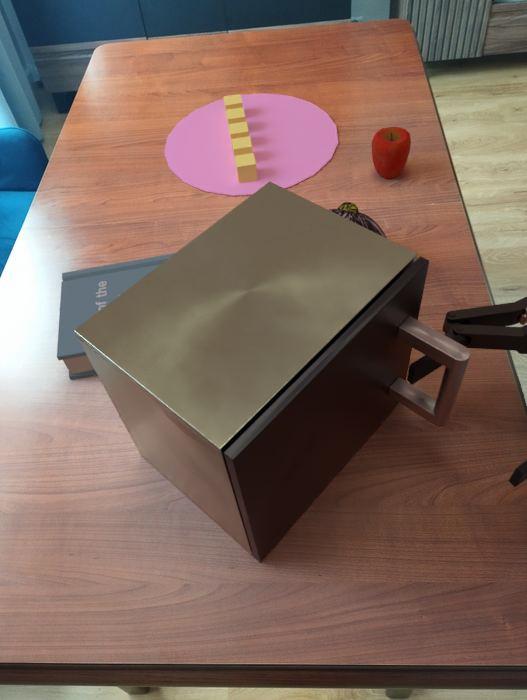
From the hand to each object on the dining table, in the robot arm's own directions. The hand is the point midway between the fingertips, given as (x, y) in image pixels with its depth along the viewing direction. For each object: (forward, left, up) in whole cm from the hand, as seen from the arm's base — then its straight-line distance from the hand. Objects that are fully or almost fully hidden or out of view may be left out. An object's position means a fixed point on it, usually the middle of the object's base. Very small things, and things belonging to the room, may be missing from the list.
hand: (459, 423), depth 55 cm
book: (+41, +16, -12) cm, 45 cm away
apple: (+46, -31, -12) cm, 57 cm away
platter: (+69, -18, -12) cm, 72 cm away
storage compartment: (+17, +12, -12) cm, 23 cm away
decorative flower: (+33, -11, -12) cm, 37 cm away
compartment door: (+4, +8, -12) cm, 15 cm away
